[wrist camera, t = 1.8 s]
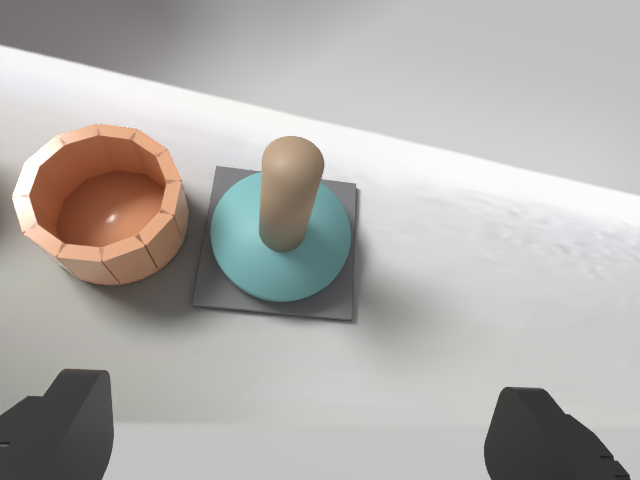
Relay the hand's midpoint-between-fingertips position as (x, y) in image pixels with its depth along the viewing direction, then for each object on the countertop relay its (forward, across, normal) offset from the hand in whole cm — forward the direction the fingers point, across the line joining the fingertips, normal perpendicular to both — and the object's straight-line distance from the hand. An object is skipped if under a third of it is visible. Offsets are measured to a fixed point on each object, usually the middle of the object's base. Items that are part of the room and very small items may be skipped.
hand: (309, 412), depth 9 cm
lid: (+21, 0, +4) cm, 22 cm away
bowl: (+22, +11, +4) cm, 24 cm away
